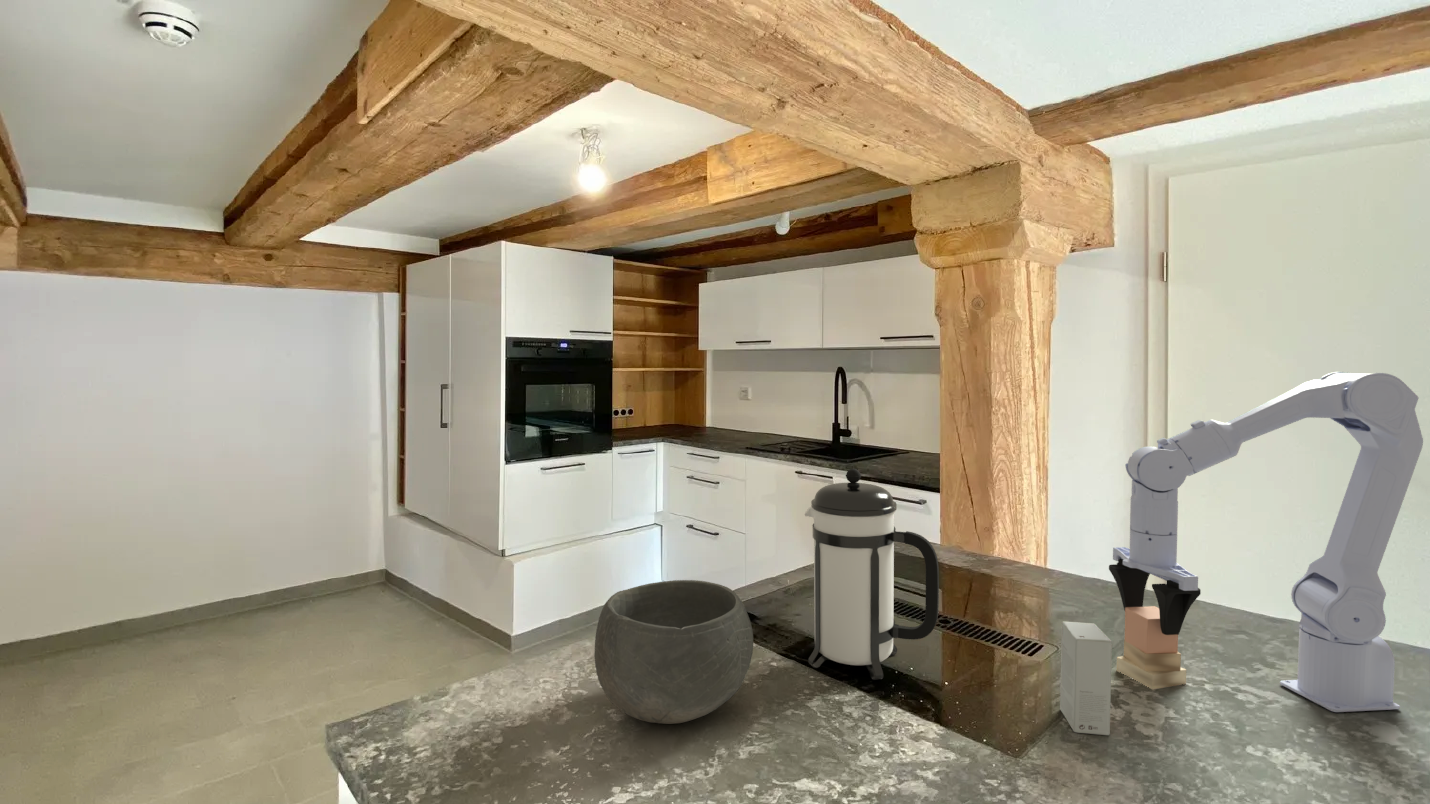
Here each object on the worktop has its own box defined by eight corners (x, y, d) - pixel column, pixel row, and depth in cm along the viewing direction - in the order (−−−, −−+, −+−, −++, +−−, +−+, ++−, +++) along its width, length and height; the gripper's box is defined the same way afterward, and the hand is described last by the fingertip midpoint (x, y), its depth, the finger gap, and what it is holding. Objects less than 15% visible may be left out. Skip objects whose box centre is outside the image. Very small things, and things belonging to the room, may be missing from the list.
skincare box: (1111, 737, 82) (1113, 641, 81) (1073, 733, 83) (1075, 639, 82) (1093, 711, 88) (1095, 622, 87) (1058, 708, 89) (1060, 620, 88)
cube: (1154, 639, 100) (1154, 606, 99) (1177, 652, 95) (1178, 617, 95) (1124, 640, 99) (1125, 607, 99) (1146, 653, 95) (1147, 619, 94)
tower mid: (1157, 655, 100) (1158, 639, 100) (1180, 671, 95) (1180, 654, 95) (1123, 655, 100) (1124, 639, 100) (1144, 671, 95) (1145, 654, 95)
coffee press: (831, 692, 94) (830, 480, 92) (791, 645, 110) (790, 464, 108) (941, 677, 98) (942, 474, 97) (888, 634, 114) (888, 459, 112)
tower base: (1148, 668, 101) (1149, 652, 101) (1185, 686, 95) (1186, 669, 95) (1116, 673, 100) (1116, 657, 99) (1152, 692, 94) (1152, 675, 94)
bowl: (731, 665, 103) (729, 569, 102) (775, 739, 82) (774, 620, 82) (591, 683, 98) (589, 582, 97) (602, 766, 77) (599, 639, 77)
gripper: (1094, 519, 103) (1093, 606, 104) (1163, 545, 89) (1161, 645, 90) (1138, 518, 104) (1136, 604, 105) (1214, 543, 89) (1211, 643, 90)
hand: (1150, 623), depth 97 cm, fingers open, 7 cm apart
